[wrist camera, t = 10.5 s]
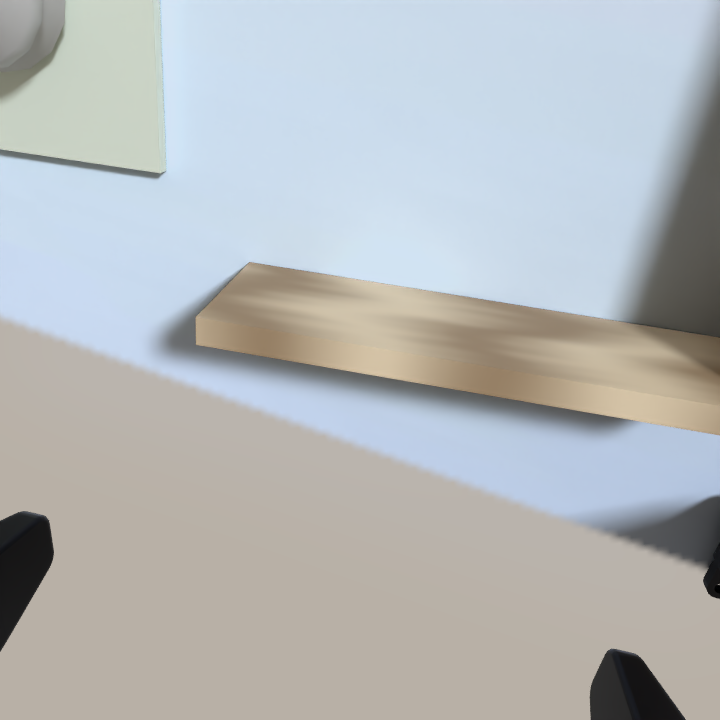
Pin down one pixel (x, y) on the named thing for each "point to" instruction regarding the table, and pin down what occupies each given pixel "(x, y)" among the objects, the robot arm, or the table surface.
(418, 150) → the table surface
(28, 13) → the rook chess piece
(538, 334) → the open box
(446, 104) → the table surface
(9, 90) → the sage mat
